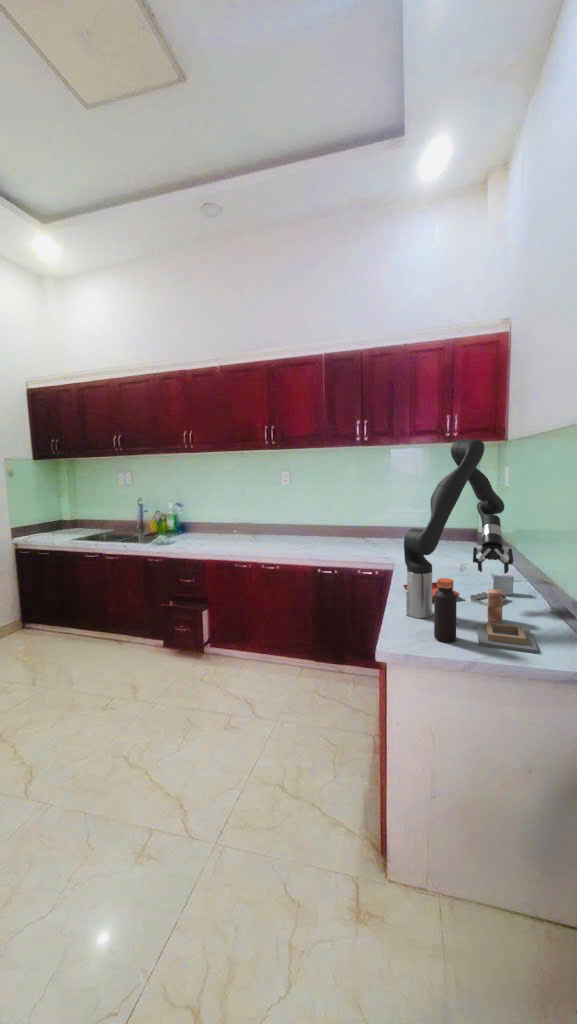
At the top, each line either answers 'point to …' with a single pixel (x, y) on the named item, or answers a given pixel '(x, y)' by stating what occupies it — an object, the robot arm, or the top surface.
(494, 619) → the terracotta post
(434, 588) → the plant saucer
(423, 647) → the top surface
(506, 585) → the medicine box
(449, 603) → the bottle
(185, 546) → the top surface
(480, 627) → the socket dock
